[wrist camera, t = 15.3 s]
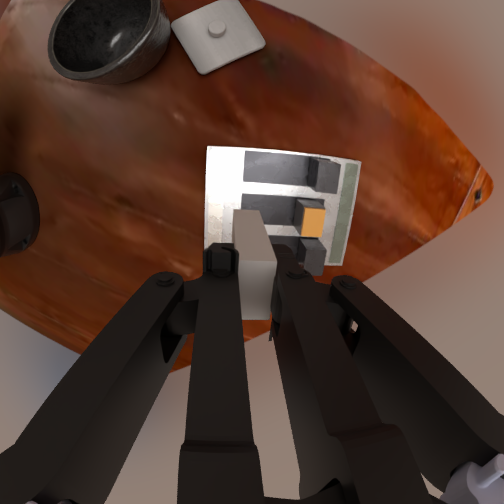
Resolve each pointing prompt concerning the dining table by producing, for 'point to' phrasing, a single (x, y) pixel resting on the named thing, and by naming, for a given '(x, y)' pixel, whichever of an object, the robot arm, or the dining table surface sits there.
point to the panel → (282, 198)
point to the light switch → (217, 34)
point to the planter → (108, 39)
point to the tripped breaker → (309, 217)
